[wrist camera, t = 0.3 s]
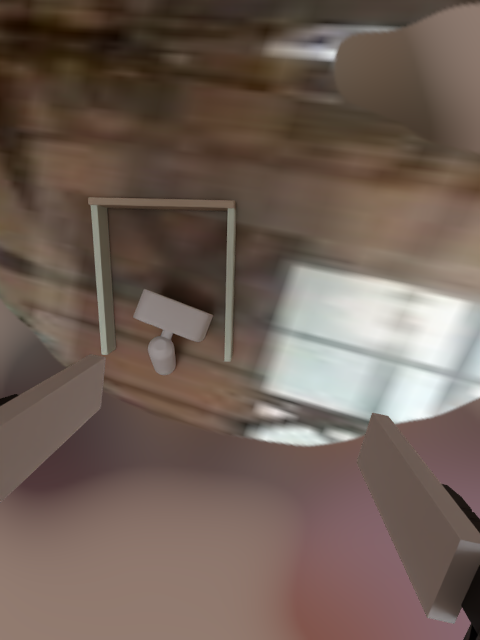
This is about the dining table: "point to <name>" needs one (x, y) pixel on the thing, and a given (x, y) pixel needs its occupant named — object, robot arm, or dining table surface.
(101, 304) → the keeper channel
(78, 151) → the dining table surface
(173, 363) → the wall hook
